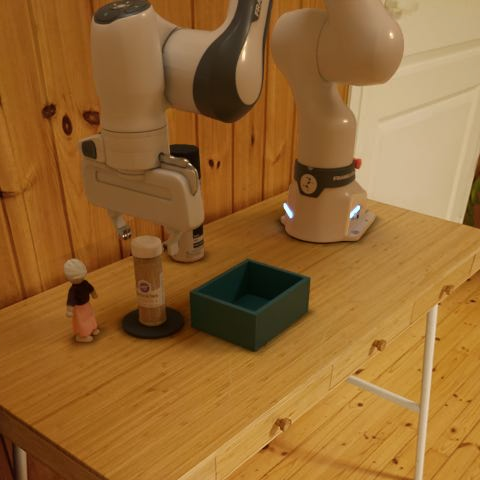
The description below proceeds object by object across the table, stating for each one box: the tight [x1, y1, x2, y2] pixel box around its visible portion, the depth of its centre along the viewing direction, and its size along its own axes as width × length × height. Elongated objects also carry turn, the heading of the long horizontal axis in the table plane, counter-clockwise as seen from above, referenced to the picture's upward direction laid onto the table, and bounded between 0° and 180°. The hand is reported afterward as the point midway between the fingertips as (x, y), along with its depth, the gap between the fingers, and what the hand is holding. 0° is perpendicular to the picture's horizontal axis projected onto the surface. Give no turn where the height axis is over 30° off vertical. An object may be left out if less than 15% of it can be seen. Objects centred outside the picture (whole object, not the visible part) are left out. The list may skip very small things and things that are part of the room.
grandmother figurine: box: [63, 258, 101, 343], centre depth 91 cm, size 8×4×13 cm, turn 171°
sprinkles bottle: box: [130, 234, 167, 326], centre depth 94 cm, size 5×5×14 cm
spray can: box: [168, 143, 205, 263], centre depth 113 cm, size 7×7×20 cm
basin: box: [188, 257, 312, 352], centre depth 98 cm, size 16×13×6 cm
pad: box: [121, 306, 185, 340], centre depth 99 cm, size 10×10×1 cm
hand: (147, 245), depth 91 cm, fingers open, 8 cm apart
